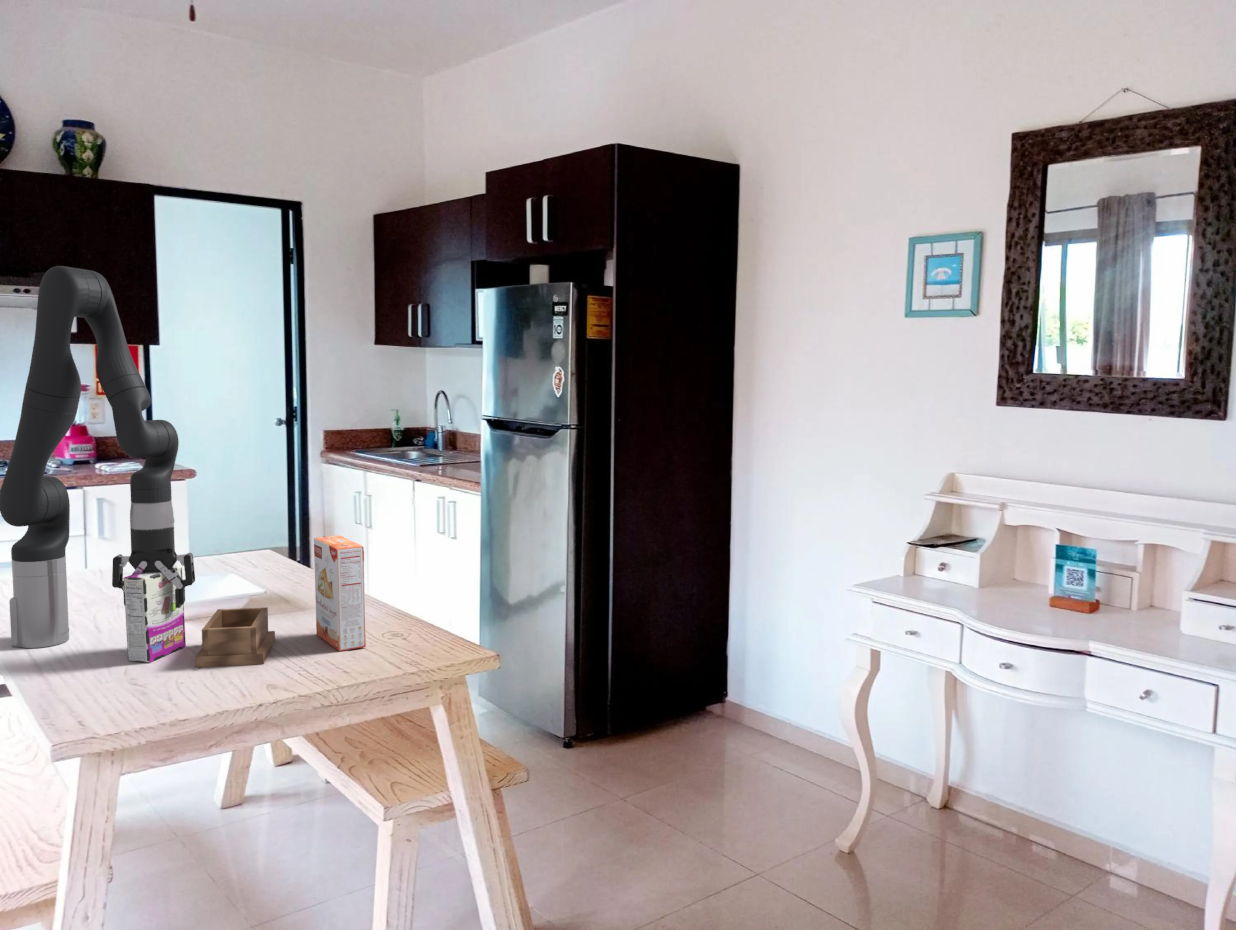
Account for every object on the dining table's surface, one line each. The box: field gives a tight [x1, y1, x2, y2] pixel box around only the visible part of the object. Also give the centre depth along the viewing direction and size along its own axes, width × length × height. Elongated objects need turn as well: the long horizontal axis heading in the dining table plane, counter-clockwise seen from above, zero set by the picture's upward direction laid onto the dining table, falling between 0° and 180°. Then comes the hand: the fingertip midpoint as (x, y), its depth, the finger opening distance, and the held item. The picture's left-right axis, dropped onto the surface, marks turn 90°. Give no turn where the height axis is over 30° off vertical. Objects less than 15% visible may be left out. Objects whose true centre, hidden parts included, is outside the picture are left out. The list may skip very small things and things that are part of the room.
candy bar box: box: [123, 565, 187, 664], centre depth 186 cm, size 11×5×16 cm, turn 168°
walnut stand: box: [194, 607, 276, 668], centre depth 188 cm, size 12×16×7 cm
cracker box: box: [313, 534, 367, 652], centre depth 196 cm, size 14×6×21 cm, turn 35°
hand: (155, 607), depth 186 cm, fingers open, 8 cm apart
